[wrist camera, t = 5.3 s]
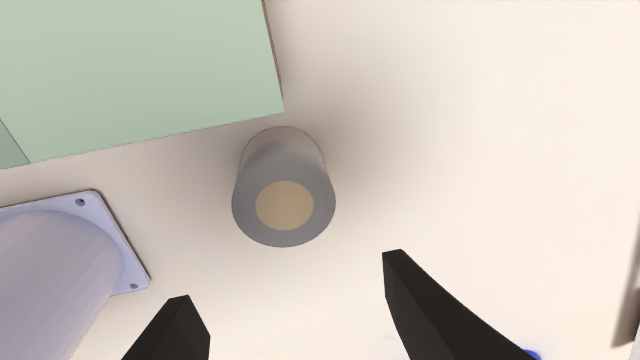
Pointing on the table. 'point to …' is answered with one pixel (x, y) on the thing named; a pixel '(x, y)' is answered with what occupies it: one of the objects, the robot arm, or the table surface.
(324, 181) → the tan-topped grey cylinder
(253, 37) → the lid
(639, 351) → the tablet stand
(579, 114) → the table surface
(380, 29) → the table surface
